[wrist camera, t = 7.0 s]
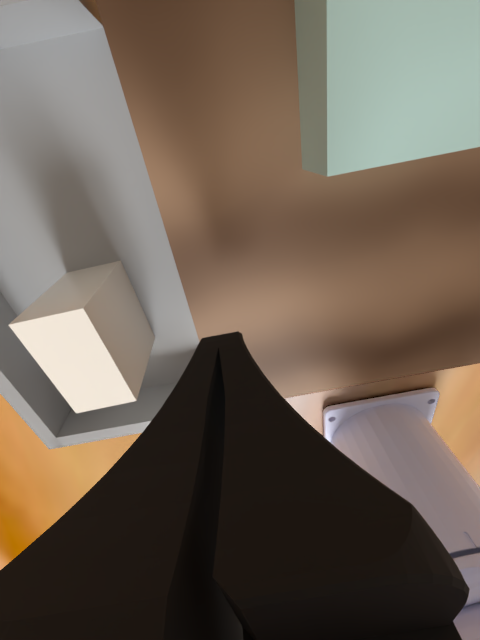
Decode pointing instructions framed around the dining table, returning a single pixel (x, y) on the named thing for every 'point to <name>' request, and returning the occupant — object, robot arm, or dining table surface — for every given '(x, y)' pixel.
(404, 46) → the grey-green block
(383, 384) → the dining table surface
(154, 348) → the tray
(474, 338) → the board
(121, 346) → the tile
